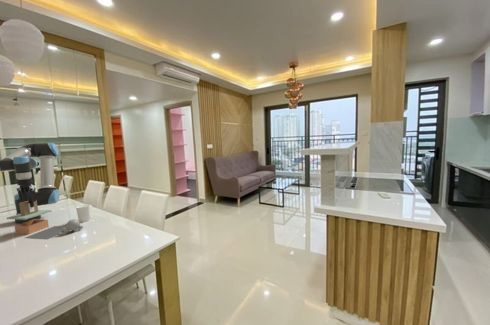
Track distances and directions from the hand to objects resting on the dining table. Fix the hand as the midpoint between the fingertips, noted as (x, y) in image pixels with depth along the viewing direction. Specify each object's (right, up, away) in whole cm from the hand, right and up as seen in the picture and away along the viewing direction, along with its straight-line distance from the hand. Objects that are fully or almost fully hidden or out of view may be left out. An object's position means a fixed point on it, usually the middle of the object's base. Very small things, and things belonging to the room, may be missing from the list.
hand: (29, 211), depth 149 cm
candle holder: (+27, -11, +17) cm, 34 cm away
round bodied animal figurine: (+33, -14, -5) cm, 36 cm away
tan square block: (+1, -14, +2) cm, 14 cm away
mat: (+19, -14, -4) cm, 24 cm away
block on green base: (0, -3, 0) cm, 3 cm away
